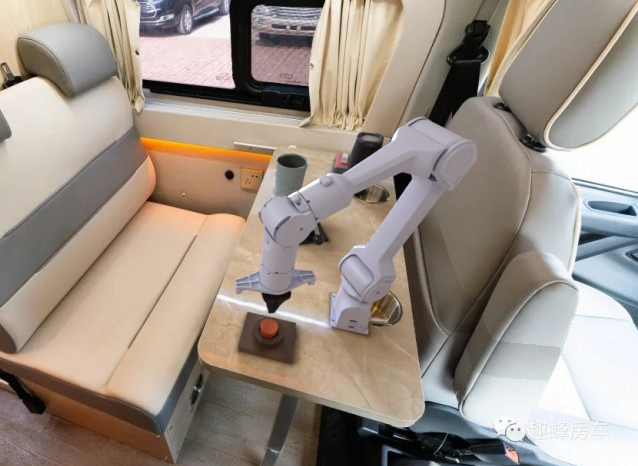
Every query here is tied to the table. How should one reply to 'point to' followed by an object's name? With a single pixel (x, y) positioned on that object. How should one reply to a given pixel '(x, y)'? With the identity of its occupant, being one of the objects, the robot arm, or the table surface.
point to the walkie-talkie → (341, 163)
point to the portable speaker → (364, 150)
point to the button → (268, 328)
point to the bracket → (311, 235)
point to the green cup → (289, 173)
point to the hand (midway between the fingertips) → (270, 308)
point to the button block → (263, 346)
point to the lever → (318, 237)
